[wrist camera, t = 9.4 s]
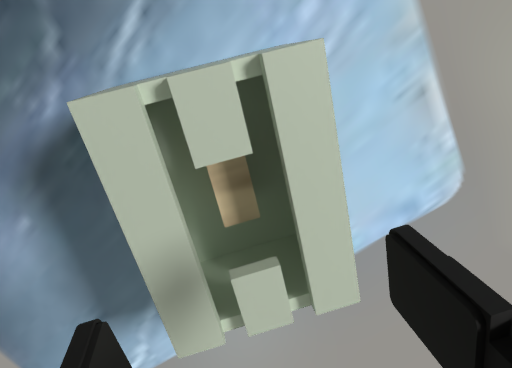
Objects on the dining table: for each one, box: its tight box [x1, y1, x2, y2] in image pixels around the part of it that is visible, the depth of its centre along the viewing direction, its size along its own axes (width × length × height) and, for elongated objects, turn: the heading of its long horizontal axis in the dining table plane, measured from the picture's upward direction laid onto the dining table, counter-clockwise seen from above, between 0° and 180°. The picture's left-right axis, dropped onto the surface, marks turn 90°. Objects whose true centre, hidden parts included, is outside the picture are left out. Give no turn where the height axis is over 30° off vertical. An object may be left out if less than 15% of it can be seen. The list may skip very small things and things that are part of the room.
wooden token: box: [206, 156, 260, 227], centre depth 24 cm, size 4×2×5 cm
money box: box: [67, 38, 360, 359], centre depth 22 cm, size 16×12×9 cm
